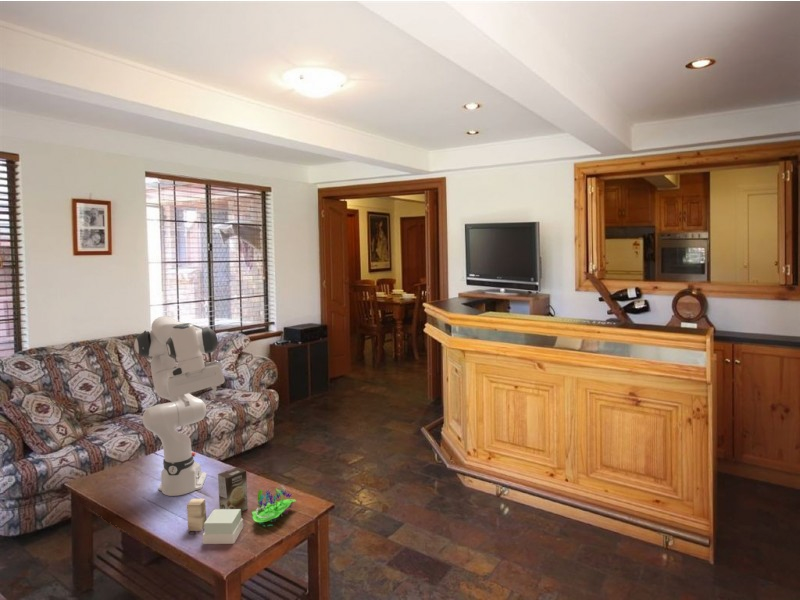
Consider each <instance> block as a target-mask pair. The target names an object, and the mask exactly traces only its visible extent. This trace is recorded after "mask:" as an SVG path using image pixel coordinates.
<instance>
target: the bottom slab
mask: <svg viewBox="0 0 800 600" xmlns="http://www.w3.org/2000/svg"><path fill="white" fill-rule="evenodd" d="M243 529H244V519H243V518H242V517H241V521H240V522H239V524H238V526H237V527H236V529H235V530H234V532H233V534H205V532H203V533H202V544H203V545H221V544H222V545H227V544H228V545H229V544H231V545H232V544H235V542H236V541H237V539H238V537H239V535H240V534H241V532H242V530H243Z"/></svg>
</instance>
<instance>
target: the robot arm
mask: <svg viewBox="0 0 800 600" xmlns="http://www.w3.org/2000/svg"><path fill="white" fill-rule="evenodd" d="M150 328H151V330H149V331H148V330H144V331H143V332H141V333H139V334H138V335H137V336H136V337H135V341H134V344H133V345H134V350H135V352H136V353H137V355H138V356H139V357H141V358H142V357H143V358H144V357H145V358H149V357H151V360H150V373H151V377H152V378H151V379H152V381H153V386H154V387H153V388H154V390H155V391H154V392H155V393H156V394H157V396H158V397H159V398H161V399H164V400H167V401H170V402H164V403H159V404H156V405H153V406H150V407H147V408H146V409H145V410H144V412H143V414H142V417H141V418H142V424H143V426H144V428H146V430H148V431H149V432H151V433H153V434H155V435H156V436H157V437H158V438H159V440H160V442H161V444H162V449H163V463H162V464H163V469H162V470H161V471H160V473H161V474H160V485H159V486H158V488H157V489H158V490H159V491H160V492H162V494H164V495H165V496H168V497H169V496H170V497H173V496H174V497H176V496H183V495H186V494H189V493H192V492H195V491H198V490H201V489H202V488H203V486H204V484H205V481H206V479H207V477H208V475H207V474H208V473H207V472H205V471H202V466H201V464H200V463H198V462H196V461H195V457H196V452H195V451H192V440H191V438H190V436H189V435H187V434H186V433H183V432H178V431H176V428H178V427H182V426H188V425H193V424H195V423H198V422H200V421H202V420H204V419H205V417H206V415H207V410H208V409H207V406H206V403H205V402H204V401H203V400H202V399H201V398H199V397H196V396H194V395H192V393H194V392H198V391H201V390H204V389H208V388H209V389H210V388H211V390H212V393H211V394H209V396H210V399H211V400H215V399H216V398H217V397H216V391H217V388H218V387H217V386H219V385H223V384H224V383H225V381H226V378H225V375H224V373H223V366H222V363H221V361H218V360H212V361H209V362H208V361H207V362H205V360H204V356H203V354H209V353H210V354H211V353H213V352H214V351H215V350H216V348H217V346H218V343H219V342H218V339H219V338H218V336H217V333H216V331H214V330H213V329H212V328H210V327H208V326H207V327H201V326H198V325H195V324H193V323H190V322H188V323H187V322H181V321H178V320H175V319H174V318H172V317H170V316H158V317H157V318H155V319H154V320H153V321H152V323H151V327H150ZM176 360H177V362H176ZM177 364H178V365H177Z"/></svg>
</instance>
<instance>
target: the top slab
mask: <svg viewBox="0 0 800 600" xmlns="http://www.w3.org/2000/svg"><path fill="white" fill-rule="evenodd" d="M241 518H242V512H241V509H220V508H216V509H213V510H212V511H211V513H210V514H209V516H208V517H206V521H205V523H204V528H203V529H204V532H205V534H233V532H234V530H235V529H236V527H237V526H238V524H239V522H240V521H241ZM204 532H203V533H204Z"/></svg>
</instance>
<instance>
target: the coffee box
mask: <svg viewBox="0 0 800 600" xmlns="http://www.w3.org/2000/svg"><path fill="white" fill-rule="evenodd" d="M217 475H218V476H217V479H218V483H217V484H218V505H219V508H218V509H241V513H242V512H244V511H247V510H248V509H249V506H248V505H249V504H248V502H249V501H248V483H247V482H248V481H247V478H248V477H247V470H245V469H243V468H241V467H238V466H237V467H234V468H231V469H229V470H228V469H227V470H226V471H223V472H220V473H218V474H217Z"/></svg>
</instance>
